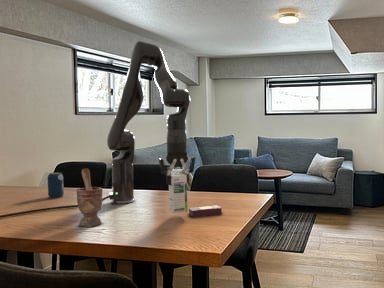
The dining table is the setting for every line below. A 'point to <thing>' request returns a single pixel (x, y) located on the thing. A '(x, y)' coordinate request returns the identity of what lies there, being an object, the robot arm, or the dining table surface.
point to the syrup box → (178, 193)
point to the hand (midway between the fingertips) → (177, 184)
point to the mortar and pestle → (89, 201)
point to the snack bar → (205, 211)
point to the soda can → (55, 185)
